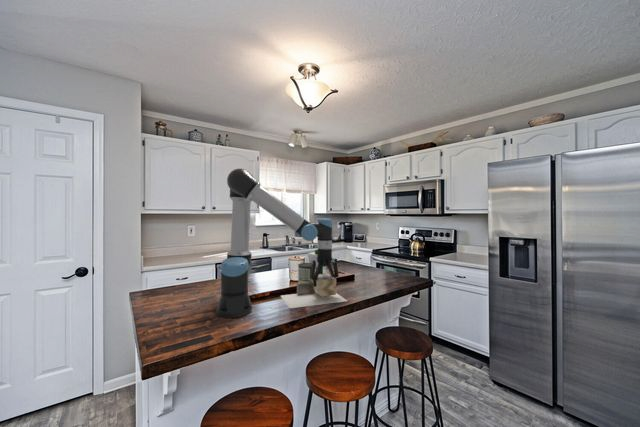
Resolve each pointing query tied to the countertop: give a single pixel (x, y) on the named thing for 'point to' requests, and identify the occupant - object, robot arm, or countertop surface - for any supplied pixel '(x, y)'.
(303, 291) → the ledge rail
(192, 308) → the countertop surface
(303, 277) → the coffee can
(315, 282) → the robot arm
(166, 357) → the countertop surface
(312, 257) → the milk carton
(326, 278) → the beige rounded block
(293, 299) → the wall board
